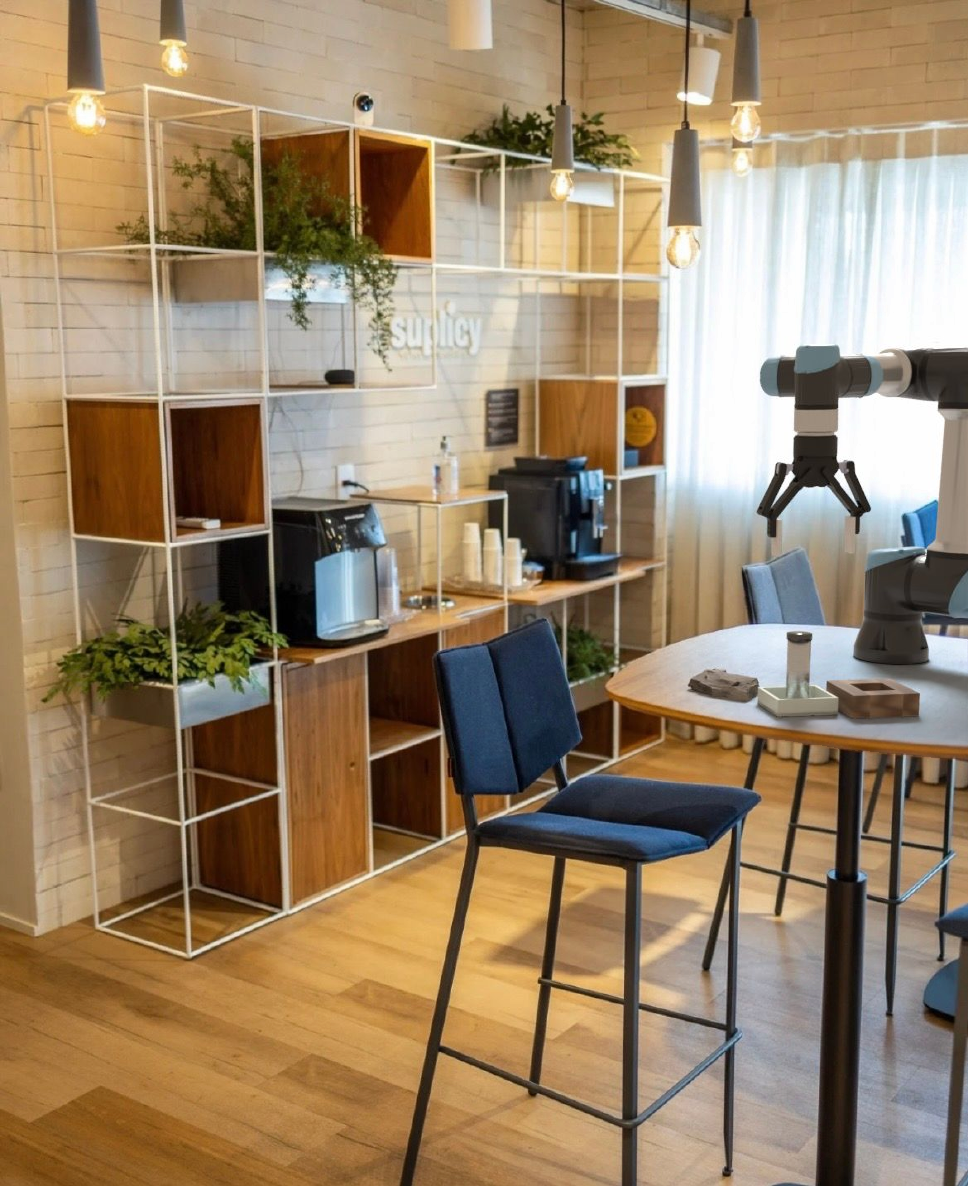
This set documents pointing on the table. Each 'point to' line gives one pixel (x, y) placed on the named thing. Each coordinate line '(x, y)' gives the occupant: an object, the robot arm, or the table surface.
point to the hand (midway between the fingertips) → (813, 554)
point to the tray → (797, 702)
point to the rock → (725, 685)
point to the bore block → (874, 698)
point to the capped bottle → (798, 664)
